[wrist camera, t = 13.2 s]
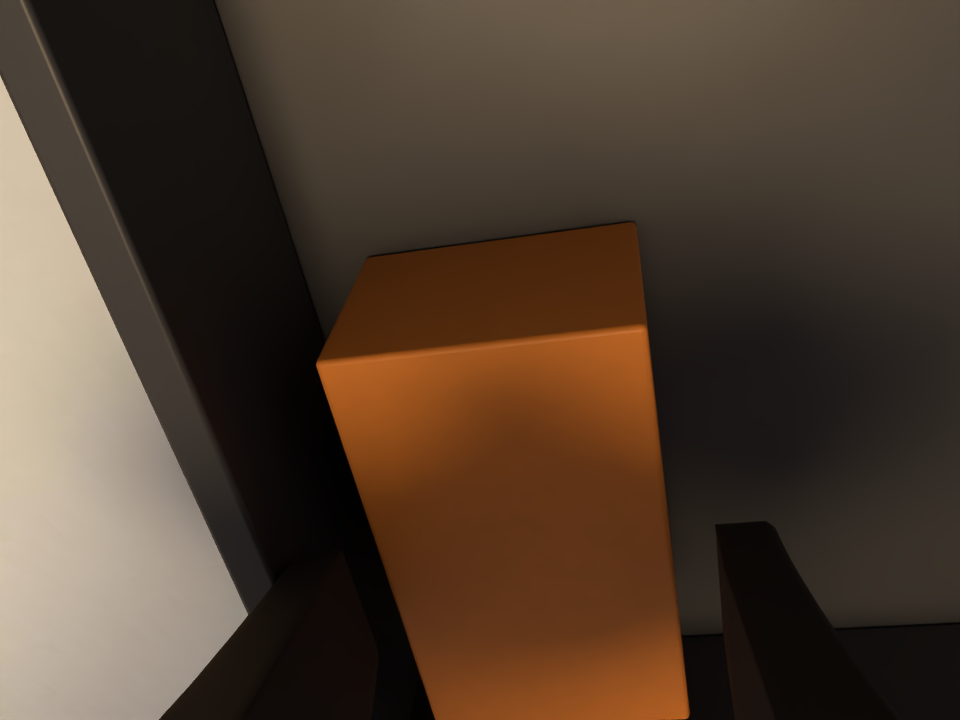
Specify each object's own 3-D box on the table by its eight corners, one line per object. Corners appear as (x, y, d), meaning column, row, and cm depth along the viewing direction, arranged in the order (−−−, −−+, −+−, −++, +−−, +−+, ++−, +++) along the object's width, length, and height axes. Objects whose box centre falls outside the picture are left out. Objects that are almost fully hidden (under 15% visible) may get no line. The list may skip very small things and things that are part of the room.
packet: (635, 219, 13) (647, 326, 10) (675, 576, 16) (690, 721, 14) (364, 255, 13) (312, 364, 11) (459, 589, 17) (436, 729, 14)
